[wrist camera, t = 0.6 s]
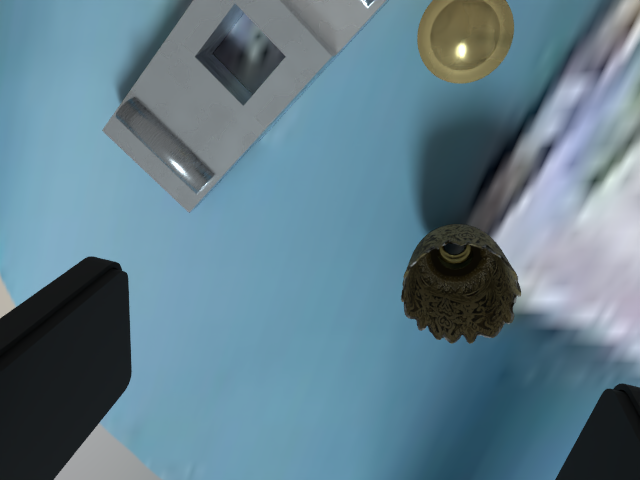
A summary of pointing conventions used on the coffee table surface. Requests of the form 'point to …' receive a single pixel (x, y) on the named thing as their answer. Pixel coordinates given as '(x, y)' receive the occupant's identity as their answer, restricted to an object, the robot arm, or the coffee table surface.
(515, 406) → the coffee table surface
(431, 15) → the brass pin
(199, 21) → the plate with square hole
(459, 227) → the cup
